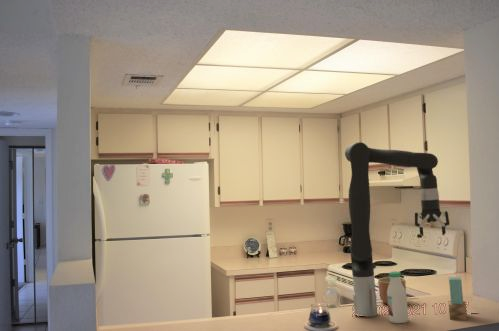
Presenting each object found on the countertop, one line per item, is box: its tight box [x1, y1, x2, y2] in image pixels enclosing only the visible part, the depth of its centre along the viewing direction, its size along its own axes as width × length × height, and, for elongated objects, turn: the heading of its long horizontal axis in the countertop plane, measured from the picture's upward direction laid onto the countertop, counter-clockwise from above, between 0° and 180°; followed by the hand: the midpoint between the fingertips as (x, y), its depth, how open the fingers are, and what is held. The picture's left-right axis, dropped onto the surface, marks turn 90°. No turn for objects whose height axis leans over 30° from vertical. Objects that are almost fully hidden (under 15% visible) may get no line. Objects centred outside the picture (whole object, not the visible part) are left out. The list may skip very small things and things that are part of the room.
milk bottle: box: [387, 271, 409, 324], centre depth 202 cm, size 8×8×20 cm
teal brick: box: [448, 276, 464, 304], centre depth 201 cm, size 4×4×10 cm
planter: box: [377, 276, 407, 305], centre depth 230 cm, size 12×12×11 cm
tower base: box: [447, 300, 468, 321], centre depth 201 cm, size 6×6×6 cm
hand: (432, 235), depth 216 cm, fingers open, 8 cm apart
